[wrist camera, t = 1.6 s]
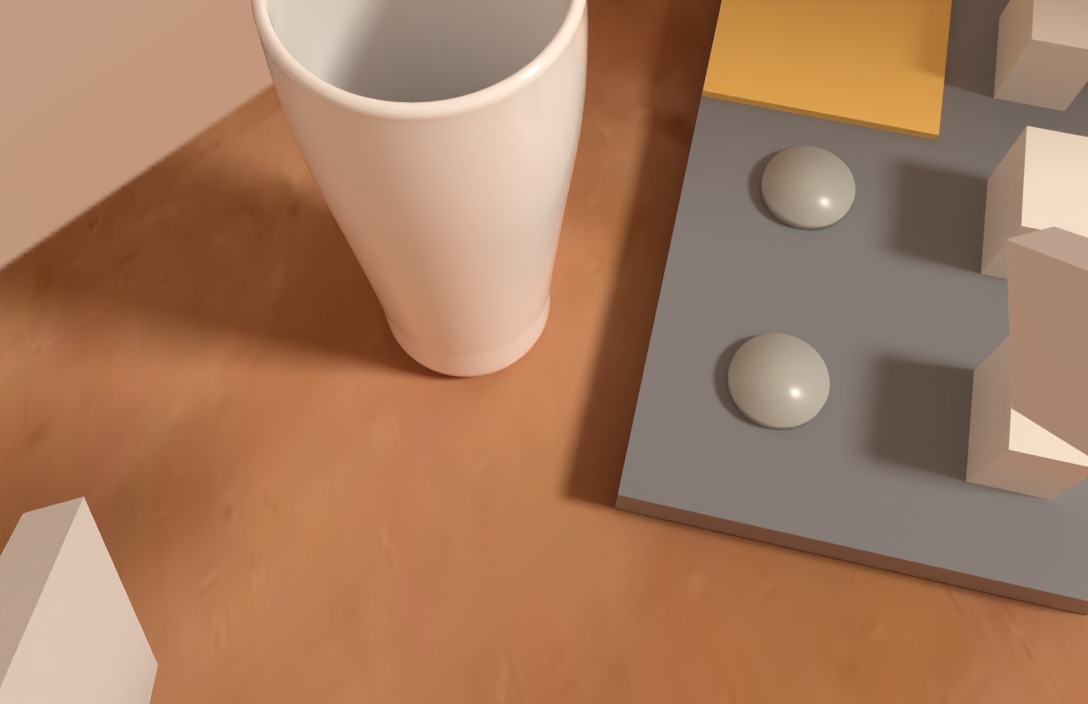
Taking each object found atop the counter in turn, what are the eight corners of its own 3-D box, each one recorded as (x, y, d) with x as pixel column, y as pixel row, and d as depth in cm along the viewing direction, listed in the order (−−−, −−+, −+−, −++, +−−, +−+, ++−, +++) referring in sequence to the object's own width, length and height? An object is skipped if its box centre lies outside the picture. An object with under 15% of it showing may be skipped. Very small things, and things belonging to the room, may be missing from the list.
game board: (1099, 10, 39) (1166, -84, 35) (1085, 615, 30) (1172, 586, 26) (732, -54, 40) (754, -152, 36) (614, 508, 31) (625, 464, 27)
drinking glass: (353, 238, 35) (230, -126, 21) (548, 204, 35) (553, -174, 22) (381, 423, 32) (261, 145, 18) (592, 383, 33) (628, 83, 19)
